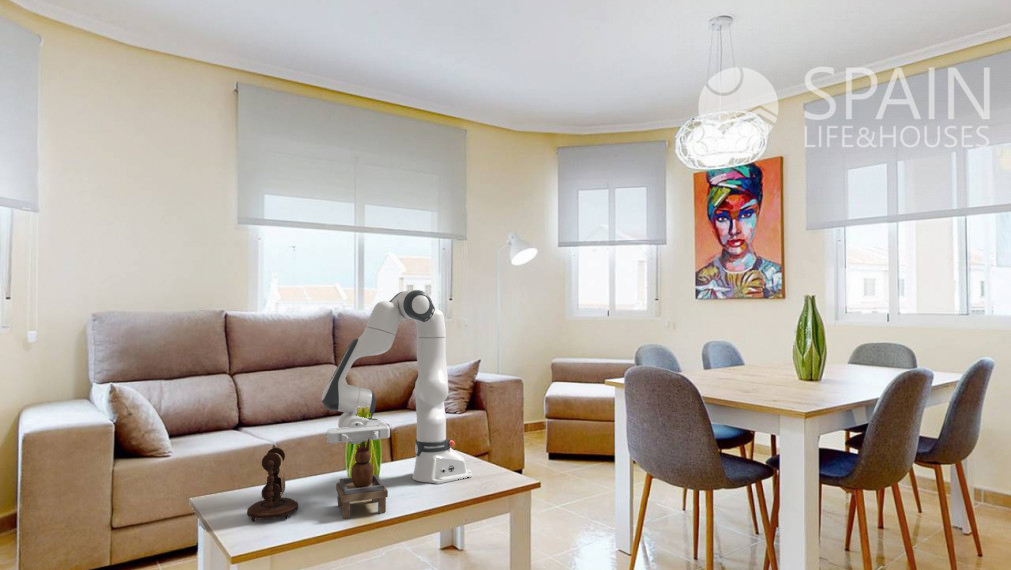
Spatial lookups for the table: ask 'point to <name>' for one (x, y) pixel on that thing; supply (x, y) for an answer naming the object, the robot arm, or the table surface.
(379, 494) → the stool
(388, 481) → the table surface
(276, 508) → the dark brown tall figurine
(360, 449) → the wooden figurine
